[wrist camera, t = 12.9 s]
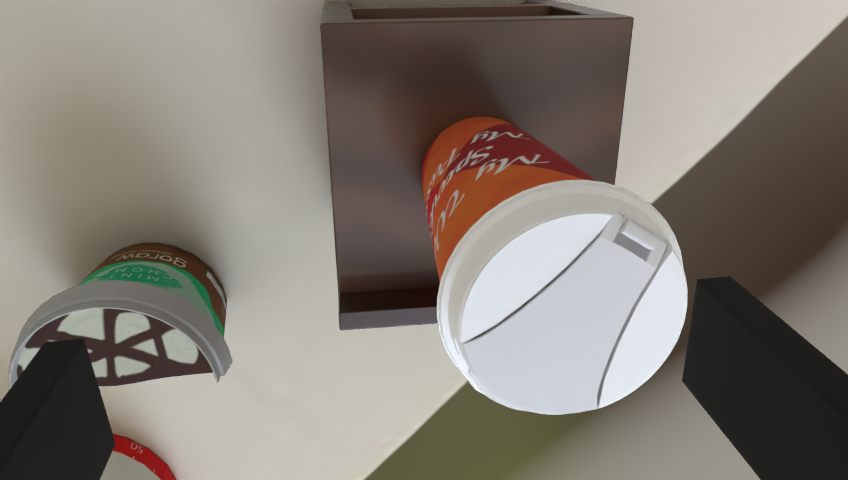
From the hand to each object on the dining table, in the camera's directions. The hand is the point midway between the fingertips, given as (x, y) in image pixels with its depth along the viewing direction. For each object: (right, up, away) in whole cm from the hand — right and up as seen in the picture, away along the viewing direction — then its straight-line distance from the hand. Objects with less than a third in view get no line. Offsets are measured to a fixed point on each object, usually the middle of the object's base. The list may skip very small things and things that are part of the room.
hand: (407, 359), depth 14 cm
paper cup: (+3, +6, +17) cm, 19 cm away
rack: (+1, +11, +29) cm, 31 cm away
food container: (-18, +1, +31) cm, 36 cm away
